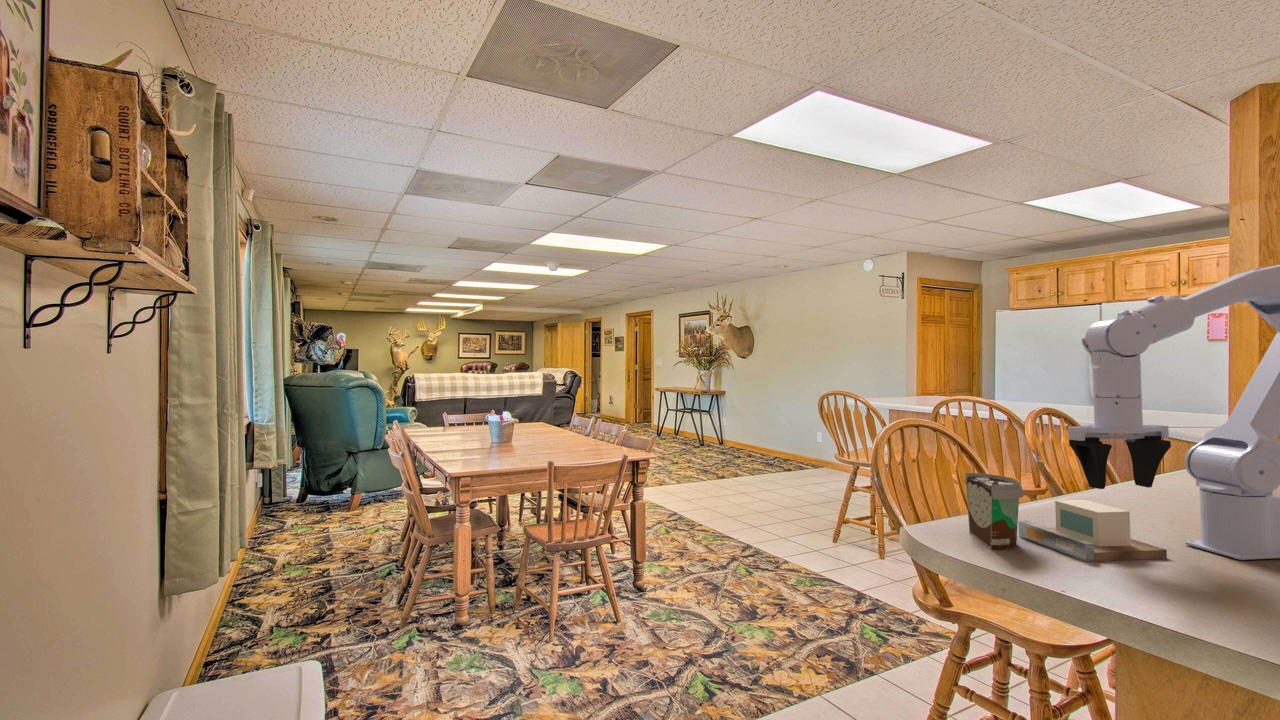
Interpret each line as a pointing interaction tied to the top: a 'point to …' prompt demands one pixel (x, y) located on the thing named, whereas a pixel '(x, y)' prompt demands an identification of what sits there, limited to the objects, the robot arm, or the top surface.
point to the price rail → (1057, 541)
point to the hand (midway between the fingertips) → (1120, 487)
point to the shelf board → (1128, 552)
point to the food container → (993, 509)
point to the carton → (1093, 522)
